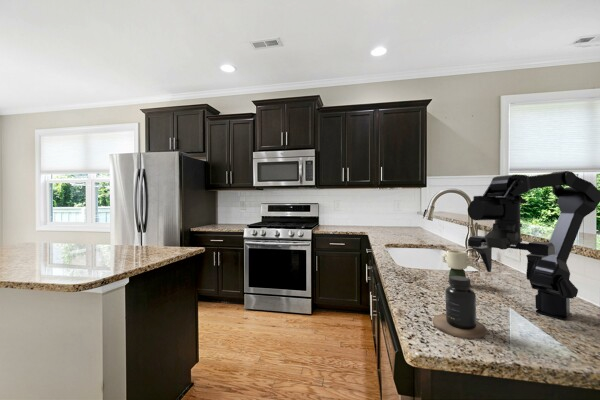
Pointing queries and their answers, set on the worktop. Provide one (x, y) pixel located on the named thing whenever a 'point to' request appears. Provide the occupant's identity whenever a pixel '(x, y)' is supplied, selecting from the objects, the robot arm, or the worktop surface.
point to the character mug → (457, 262)
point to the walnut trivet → (443, 326)
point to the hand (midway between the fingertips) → (507, 275)
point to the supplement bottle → (460, 303)
